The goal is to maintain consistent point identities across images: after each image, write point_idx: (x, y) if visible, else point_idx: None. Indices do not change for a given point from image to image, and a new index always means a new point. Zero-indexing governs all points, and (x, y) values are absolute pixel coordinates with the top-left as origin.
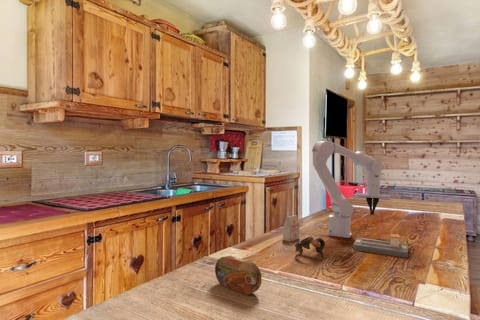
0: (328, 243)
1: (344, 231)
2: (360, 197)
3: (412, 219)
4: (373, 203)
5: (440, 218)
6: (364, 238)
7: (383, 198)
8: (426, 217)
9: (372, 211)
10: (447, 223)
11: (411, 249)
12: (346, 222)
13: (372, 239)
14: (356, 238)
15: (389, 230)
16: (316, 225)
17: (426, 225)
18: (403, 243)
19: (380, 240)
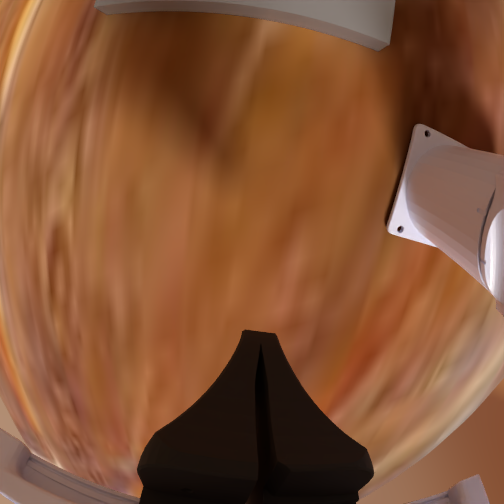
0: (491, 29)
1: (456, 147)
2: (424, 501)
3: (106, 469)
4: (245, 426)
5: (59, 463)
6: (342, 22)
7: (74, 487)
8: (84, 474)
9: (257, 350)
10: (33, 433)
11: (90, 20)
12: (487, 159)
13: (290, 9)
14: (392, 17)
15: (154, 368)
16: (482, 346)
17: (60, 425)
18: (111, 4)
19: (238, 1)
